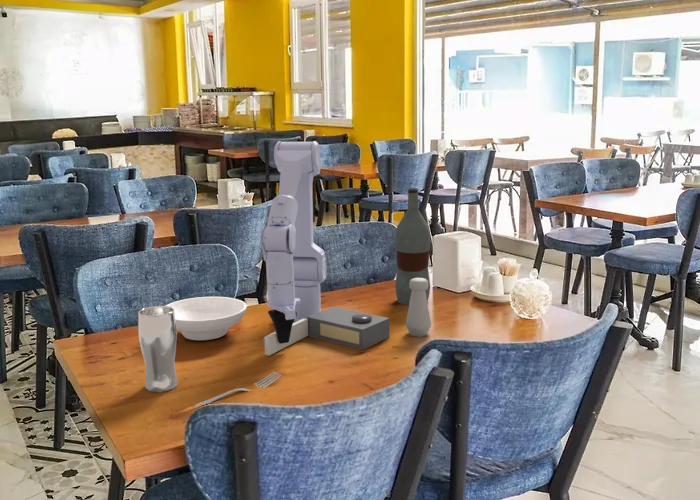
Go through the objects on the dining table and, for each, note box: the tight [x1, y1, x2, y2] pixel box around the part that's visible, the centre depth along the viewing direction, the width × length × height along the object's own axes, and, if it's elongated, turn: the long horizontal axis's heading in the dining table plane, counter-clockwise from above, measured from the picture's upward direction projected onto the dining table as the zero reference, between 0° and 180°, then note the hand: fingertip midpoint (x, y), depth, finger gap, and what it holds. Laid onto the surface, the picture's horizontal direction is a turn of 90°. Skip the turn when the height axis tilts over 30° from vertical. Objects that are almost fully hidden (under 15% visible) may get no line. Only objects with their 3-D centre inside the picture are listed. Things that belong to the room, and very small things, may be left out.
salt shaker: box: [405, 278, 432, 337], centre depth 169 cm, size 6×6×13 cm
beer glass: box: [137, 305, 179, 393], centre depth 140 cm, size 7×7×15 cm
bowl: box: [165, 296, 247, 341], centre depth 170 cm, size 20×20×7 cm
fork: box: [194, 371, 282, 407], centre depth 136 cm, size 3×24×2 cm, turn 132°
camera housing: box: [307, 306, 390, 350], centre depth 168 cm, size 16×10×5 cm, turn 52°
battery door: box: [262, 318, 309, 356], centre depth 163 cm, size 16×2×4 cm, turn 150°
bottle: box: [394, 187, 432, 306], centre depth 194 cm, size 9×9×30 cm
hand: (283, 342), depth 159 cm, fingers closed, pressing on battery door
